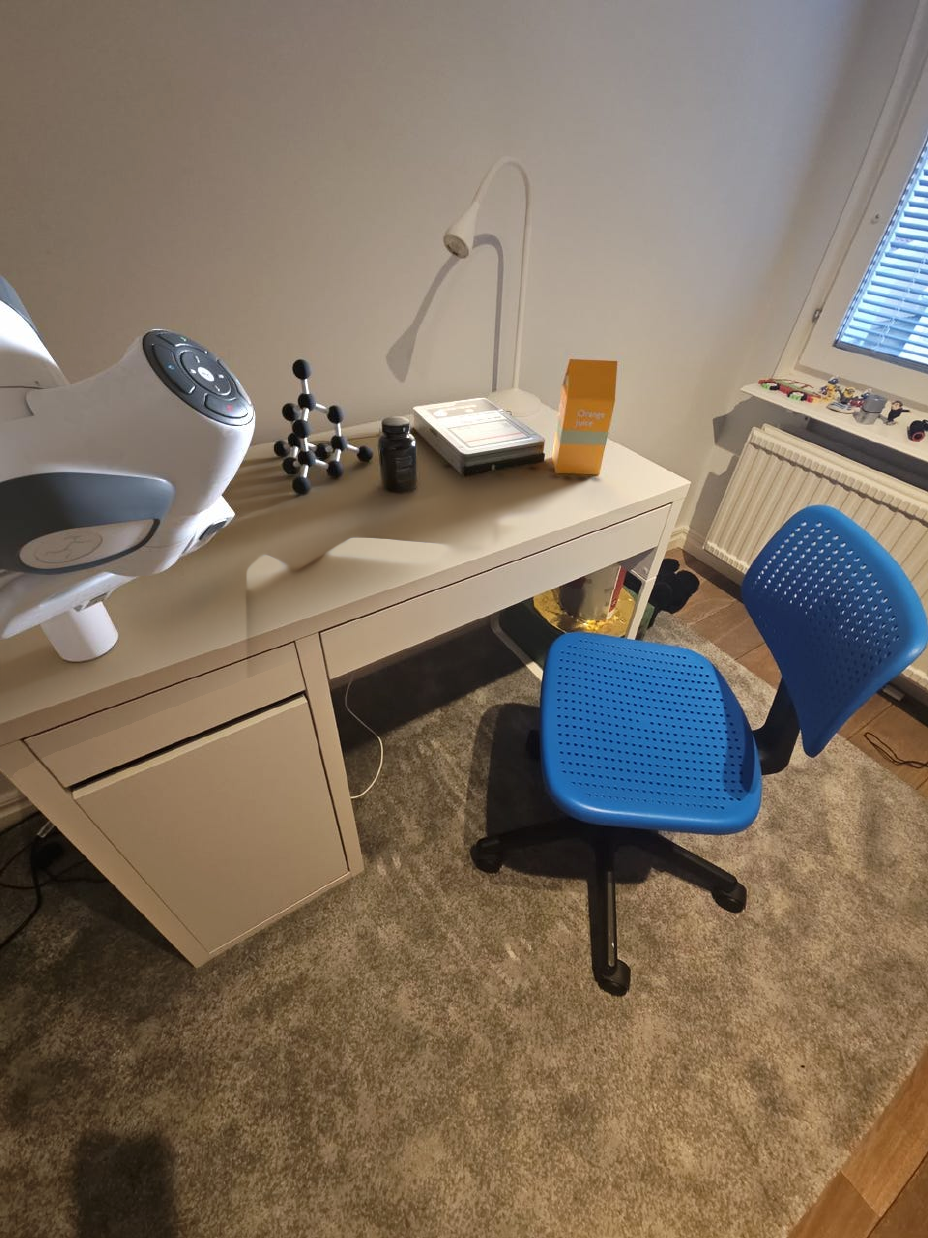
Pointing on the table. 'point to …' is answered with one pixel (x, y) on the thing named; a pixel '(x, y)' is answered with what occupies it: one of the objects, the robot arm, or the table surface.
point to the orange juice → (584, 416)
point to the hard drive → (478, 436)
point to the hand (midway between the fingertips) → (86, 599)
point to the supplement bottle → (397, 456)
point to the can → (81, 633)
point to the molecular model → (303, 430)
